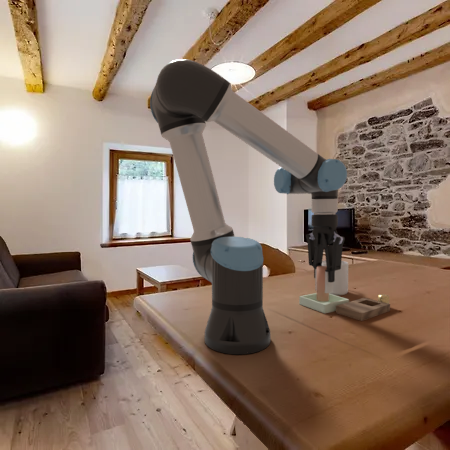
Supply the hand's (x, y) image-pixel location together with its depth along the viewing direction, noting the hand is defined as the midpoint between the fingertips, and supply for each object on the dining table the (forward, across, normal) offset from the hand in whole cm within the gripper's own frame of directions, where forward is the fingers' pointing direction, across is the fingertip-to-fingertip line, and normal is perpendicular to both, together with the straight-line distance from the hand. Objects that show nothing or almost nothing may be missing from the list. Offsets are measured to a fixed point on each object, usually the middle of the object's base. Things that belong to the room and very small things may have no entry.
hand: (324, 290), depth 98 cm
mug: (+5, +10, -17) cm, 20 cm away
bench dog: (+5, -10, -14) cm, 18 cm away
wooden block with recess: (+6, -10, -5) cm, 12 cm away
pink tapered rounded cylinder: (+3, 0, 0) cm, 3 cm away
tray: (+5, 0, 0) cm, 5 cm away
